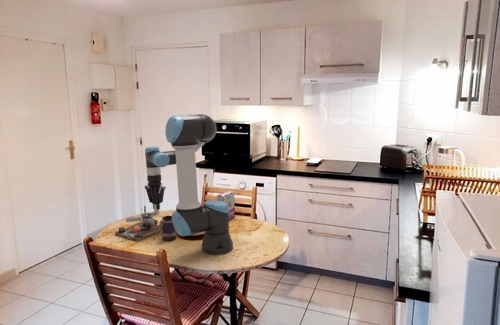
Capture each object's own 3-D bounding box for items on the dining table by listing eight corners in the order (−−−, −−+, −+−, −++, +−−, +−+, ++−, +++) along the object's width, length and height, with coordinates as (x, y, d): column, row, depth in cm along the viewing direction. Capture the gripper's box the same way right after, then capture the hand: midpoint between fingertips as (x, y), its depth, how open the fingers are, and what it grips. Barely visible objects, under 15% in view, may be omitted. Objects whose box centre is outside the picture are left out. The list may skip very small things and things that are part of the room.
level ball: (142, 231, 188) (142, 224, 188) (137, 234, 185) (136, 227, 184) (137, 230, 190) (137, 223, 190) (131, 232, 187) (131, 225, 186)
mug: (168, 235, 188) (167, 213, 186) (179, 237, 185) (177, 215, 183) (155, 242, 179) (153, 219, 177) (166, 244, 176) (165, 221, 174)
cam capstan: (171, 223, 201) (171, 209, 200) (156, 234, 185) (155, 219, 184) (142, 220, 206) (141, 207, 205) (125, 230, 190) (124, 216, 189)
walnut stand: (166, 229, 197) (165, 223, 196) (138, 241, 180) (137, 235, 179) (143, 223, 206) (143, 218, 205) (115, 235, 189) (114, 229, 188)
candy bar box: (228, 216, 217) (228, 190, 214) (235, 217, 214) (234, 191, 212) (217, 221, 208) (216, 194, 205) (224, 223, 205) (223, 196, 202)
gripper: (167, 173, 197) (170, 213, 201) (148, 172, 202) (151, 211, 206) (159, 176, 190) (162, 217, 194) (140, 174, 195) (143, 215, 199)
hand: (157, 214), depth 200 cm, fingers closed
